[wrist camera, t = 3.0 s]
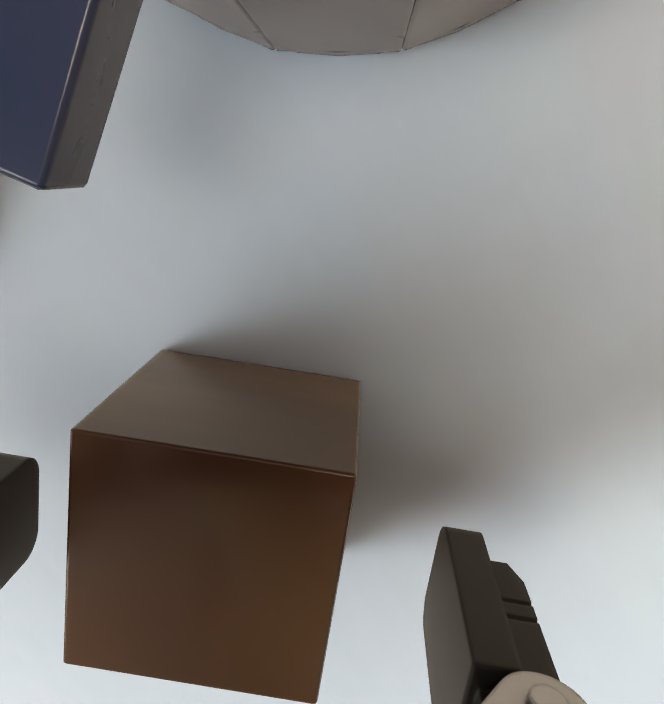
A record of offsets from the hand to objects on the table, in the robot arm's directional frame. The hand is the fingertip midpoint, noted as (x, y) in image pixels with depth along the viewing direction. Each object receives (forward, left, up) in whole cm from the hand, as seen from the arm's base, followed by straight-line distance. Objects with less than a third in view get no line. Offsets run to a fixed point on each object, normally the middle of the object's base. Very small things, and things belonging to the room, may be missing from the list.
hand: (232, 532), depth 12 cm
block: (0, 0, -3) cm, 3 cm away
